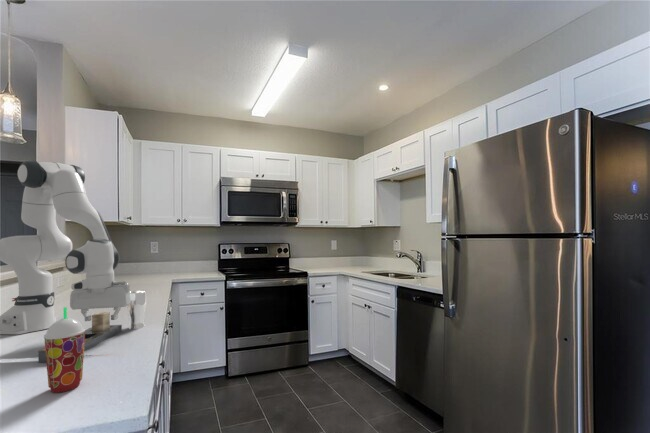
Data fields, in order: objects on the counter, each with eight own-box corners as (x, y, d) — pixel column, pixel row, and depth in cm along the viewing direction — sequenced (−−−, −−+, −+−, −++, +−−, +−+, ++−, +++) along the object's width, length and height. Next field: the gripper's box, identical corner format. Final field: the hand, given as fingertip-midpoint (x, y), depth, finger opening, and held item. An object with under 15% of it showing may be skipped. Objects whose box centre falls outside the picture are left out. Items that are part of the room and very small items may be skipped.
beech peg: (92, 337, 124) (91, 315, 125) (98, 334, 128) (98, 312, 129) (103, 337, 124) (103, 314, 125) (109, 333, 128) (109, 312, 129)
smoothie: (59, 381, 90) (59, 304, 90) (93, 379, 90) (92, 303, 91) (35, 397, 81) (35, 312, 82) (72, 394, 82) (71, 310, 83)
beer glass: (138, 332, 132) (137, 293, 133) (122, 331, 134) (122, 293, 134) (150, 327, 139) (150, 290, 140) (135, 326, 141) (135, 290, 141)
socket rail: (72, 361, 104) (72, 348, 104) (38, 362, 104) (38, 350, 104) (121, 333, 131) (121, 323, 131) (94, 335, 131) (94, 325, 131)
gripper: (133, 279, 130) (134, 316, 130) (78, 282, 130) (79, 319, 129) (124, 282, 124) (125, 320, 123) (66, 285, 123) (67, 324, 123)
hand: (101, 320), depth 126 cm, fingers open, 8 cm apart
